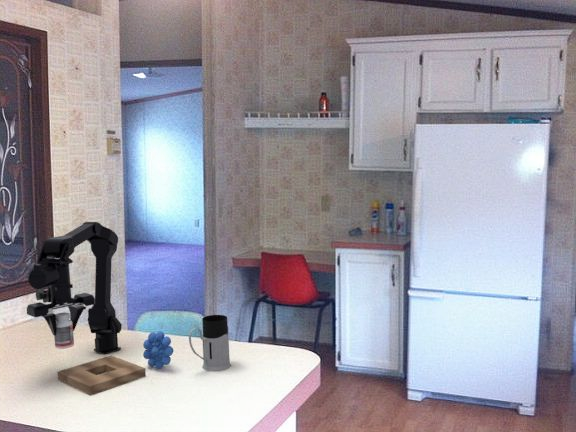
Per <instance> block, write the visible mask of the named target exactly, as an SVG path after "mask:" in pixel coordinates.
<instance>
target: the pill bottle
mask: <svg viewBox="0 0 576 432" xmlns="http://www.w3.org/2000/svg"><path fill="white" fill-rule="evenodd" d="M55 314H56V335H55V336H54V335H53V336H54V337H53V338H54V347H55V348H56V349H59V350H61V349H63V350H64V349H69V348H72V347H73V346H75V339H74V337H75V335H74V331H73V323H72V321H71V320H70V312H67V311H66V312H59V313H55Z"/></svg>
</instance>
